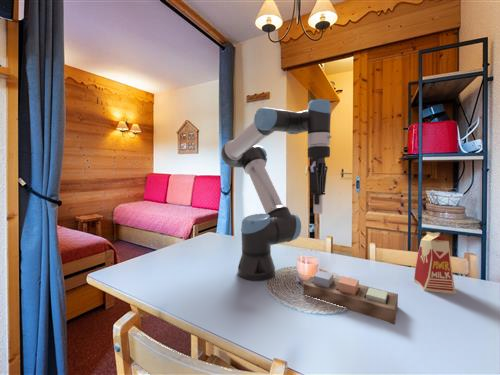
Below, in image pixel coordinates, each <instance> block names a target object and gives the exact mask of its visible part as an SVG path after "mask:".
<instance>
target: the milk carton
mask: <svg viewBox="0 0 500 375" xmlns="http://www.w3.org/2000/svg"><path fill="white" fill-rule="evenodd" d="M425 233H426V235H424V236H423V237H422V238H421V239H420V243H419V248H418V251H417V258H416V262H415V269H414V276H413V281H414V282H415V283H416V284H418V285H419V286H420V287H421V289H422V290H423V291H424V292H425V291H426V292H434V293H443V294H444V293H445V294H455V295H456V294H457V291H456V287H455V286H456V285H455V282H454V275H453V266H452V261H451V260H452V259H451V258H452V257H451V252H450V250H451V249H450V242H449V240H447V239H445V238H444V237H442V236H440V235H441V232H430V231H425Z"/></svg>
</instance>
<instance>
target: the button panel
mask: <svg viewBox="0 0 500 375" xmlns="http://www.w3.org/2000/svg"><path fill="white" fill-rule="evenodd" d="M340 279H341V278H340ZM340 279H339V278H334V277H333V284H332V286H331V287H330V288H327V287H323V286H320V285H316V284H313V281H314V277H311V276H310V277H308V279H307V280H306V281H305V282H304V283H303V284H302V286H303V288H302V289H303V291H302V292H303V293H302V294H303V295H307V296H310V297H313V298H317V299H320V300H324V301H326V302H330V303H333V304H336V305H339V306H343V307H346V308H347V309H348V311H351V312H353V313H357V314H361V315H363V316H367V317H370V318H373V319H376V320H379V321H382V322H385V323H389V324H392V325H395V322H396V318H397V317H396V316H397V311H398V308H399V307H398V305H399V302H398V300H399V294H398V293H395V292H391V291H387V290H382V289H379V288H375V287H371V286H366V285H364V284H360V283H359V292H358V294H357V296H356V295H352V294H349V293H345V292H341V291H338V282H339V280H340ZM369 287H370V288H374V289H378V290H382V291H386V292H388V294H387V304H384V303H381V302H377V301H374V300H370V299H367V298H366V293H367V291H368V289H369ZM310 297H309V298H310ZM313 298H312V299H313ZM347 309H346V310H347Z"/></svg>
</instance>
